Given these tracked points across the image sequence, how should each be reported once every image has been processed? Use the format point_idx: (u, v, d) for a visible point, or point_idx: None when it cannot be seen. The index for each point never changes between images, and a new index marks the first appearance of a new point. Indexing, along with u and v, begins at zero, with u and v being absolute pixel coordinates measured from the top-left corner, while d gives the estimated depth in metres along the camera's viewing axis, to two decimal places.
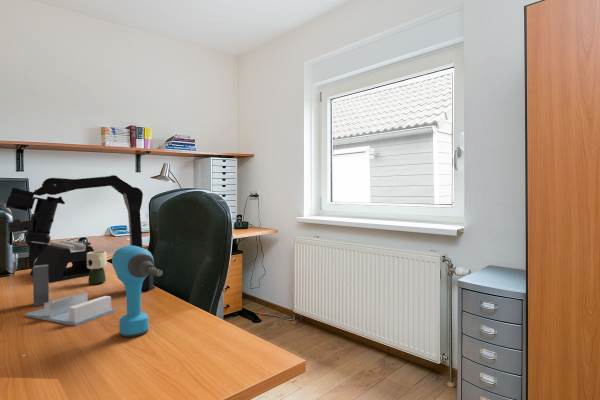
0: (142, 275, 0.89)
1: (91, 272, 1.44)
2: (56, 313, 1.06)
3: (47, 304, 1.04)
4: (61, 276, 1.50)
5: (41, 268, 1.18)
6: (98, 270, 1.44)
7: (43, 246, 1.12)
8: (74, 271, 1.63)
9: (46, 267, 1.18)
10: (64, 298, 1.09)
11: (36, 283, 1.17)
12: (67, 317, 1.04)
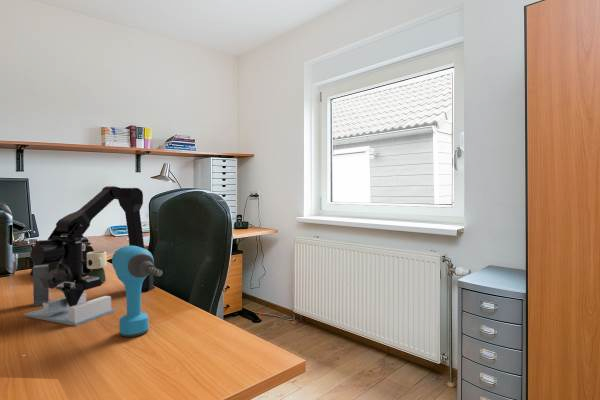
0: (142, 275, 0.89)
1: (91, 272, 1.44)
2: (54, 313, 1.06)
3: (46, 304, 1.05)
4: None
5: (41, 268, 1.18)
6: (98, 270, 1.44)
7: None
8: None
9: (46, 267, 1.18)
10: (63, 298, 1.09)
11: (36, 283, 1.17)
12: (67, 317, 1.04)
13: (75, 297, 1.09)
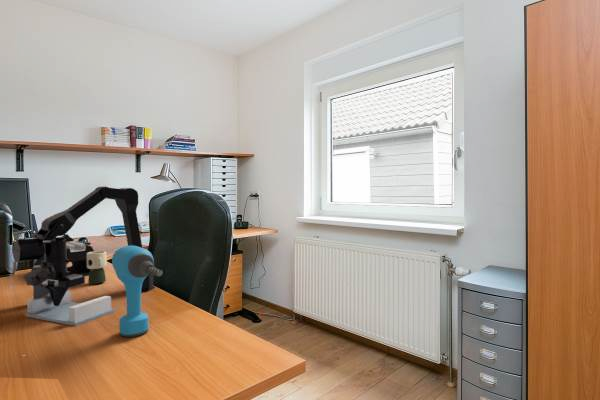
0: (142, 275, 0.89)
1: (91, 272, 1.44)
2: (39, 310, 1.09)
3: (30, 301, 1.07)
4: None
5: None
6: (98, 270, 1.44)
7: None
8: (74, 271, 1.64)
9: None
10: (47, 295, 1.12)
11: None
12: (67, 317, 1.04)
13: (59, 295, 1.11)
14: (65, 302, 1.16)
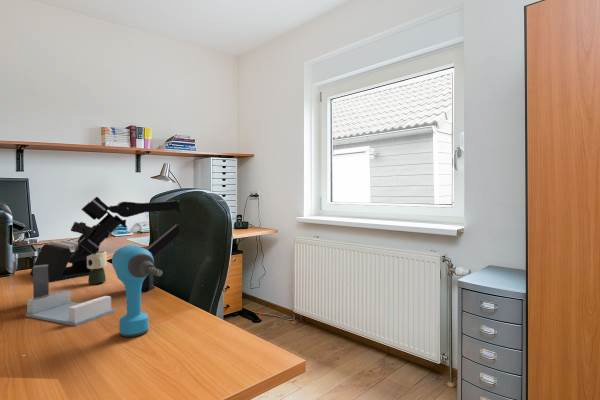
0: (142, 275, 0.89)
1: (91, 272, 1.44)
2: (38, 310, 1.09)
3: (29, 301, 1.07)
4: (61, 276, 1.51)
5: (41, 268, 1.18)
6: (98, 270, 1.44)
7: (88, 253, 1.23)
8: (74, 271, 1.64)
9: (46, 267, 1.18)
10: (47, 295, 1.12)
11: (36, 283, 1.17)
12: (67, 317, 1.04)
13: (77, 255, 1.22)
14: (65, 302, 1.17)
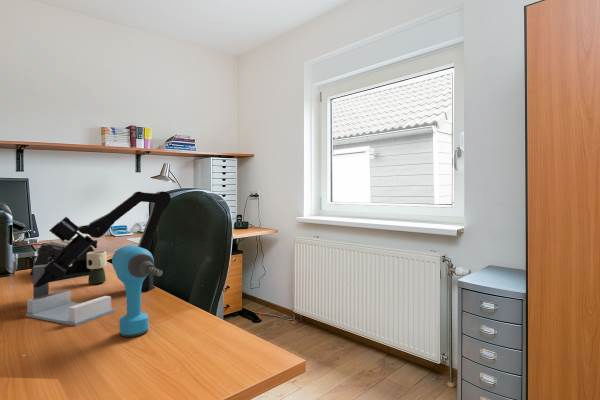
0: (142, 275, 0.89)
1: (91, 272, 1.44)
2: (38, 310, 1.09)
3: (29, 301, 1.07)
4: None
5: (41, 268, 1.18)
6: (98, 270, 1.44)
7: (55, 277, 1.18)
8: (74, 270, 1.65)
9: None
10: (47, 295, 1.12)
11: None
12: (67, 317, 1.04)
13: (44, 279, 1.17)
14: (65, 302, 1.17)
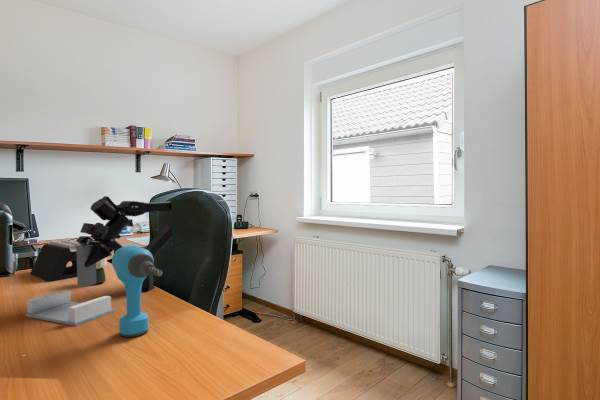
0: (142, 275, 0.89)
1: None
2: (38, 310, 1.09)
3: (29, 301, 1.07)
4: (61, 275, 1.52)
5: (90, 247, 1.17)
6: (98, 270, 1.44)
7: (106, 255, 1.19)
8: (74, 270, 1.65)
9: (94, 246, 1.18)
10: (47, 295, 1.12)
11: None
12: (67, 317, 1.04)
13: (95, 257, 1.17)
14: (65, 302, 1.17)
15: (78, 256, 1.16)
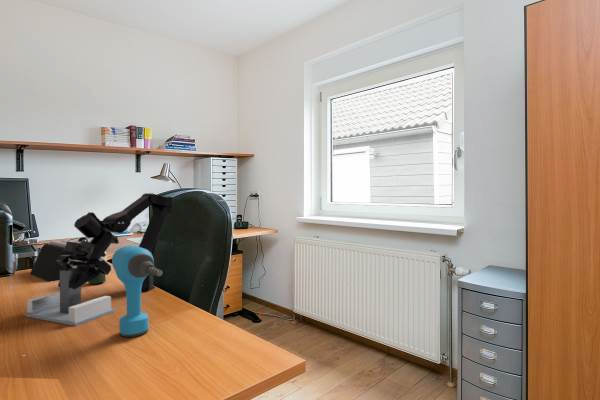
0: (142, 275, 0.89)
1: None
2: (38, 310, 1.09)
3: (29, 301, 1.07)
4: None
5: (75, 271, 1.09)
6: None
7: (94, 276, 1.11)
8: None
9: (80, 270, 1.10)
10: (47, 295, 1.12)
11: (71, 288, 1.08)
12: (67, 317, 1.04)
13: (83, 278, 1.09)
14: None
15: (62, 281, 1.08)
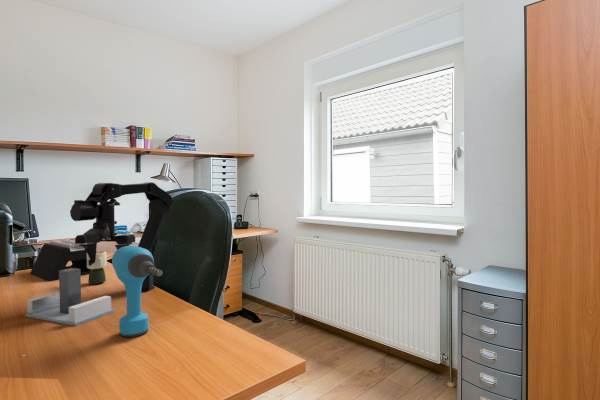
0: (142, 275, 0.89)
1: (91, 272, 1.44)
2: (38, 310, 1.09)
3: (29, 301, 1.07)
4: None
5: (75, 271, 1.09)
6: (98, 270, 1.44)
7: (127, 245, 1.24)
8: None
9: (79, 270, 1.10)
10: (47, 295, 1.12)
11: (71, 289, 1.08)
12: (67, 317, 1.04)
13: None
14: None
15: (61, 281, 1.08)
